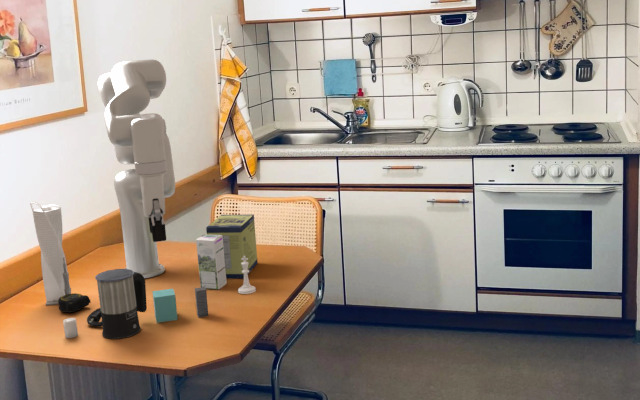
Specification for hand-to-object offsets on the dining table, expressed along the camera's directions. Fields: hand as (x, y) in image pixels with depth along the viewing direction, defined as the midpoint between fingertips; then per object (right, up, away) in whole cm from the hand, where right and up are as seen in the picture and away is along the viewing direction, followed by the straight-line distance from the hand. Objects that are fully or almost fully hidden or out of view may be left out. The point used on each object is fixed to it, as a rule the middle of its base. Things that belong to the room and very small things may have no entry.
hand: (158, 236), depth 201 cm
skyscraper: (-32, -19, +24) cm, 44 cm away
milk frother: (-11, -23, 0) cm, 25 cm away
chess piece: (+20, -16, +22) cm, 34 cm away
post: (+10, -20, +5) cm, 23 cm away
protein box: (+15, -12, +41) cm, 45 cm away
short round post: (-20, -24, -4) cm, 32 cm away
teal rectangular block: (+1, -21, +5) cm, 21 cm away
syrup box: (+10, -15, +28) cm, 33 cm away
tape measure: (-25, -20, +15) cm, 35 cm away
